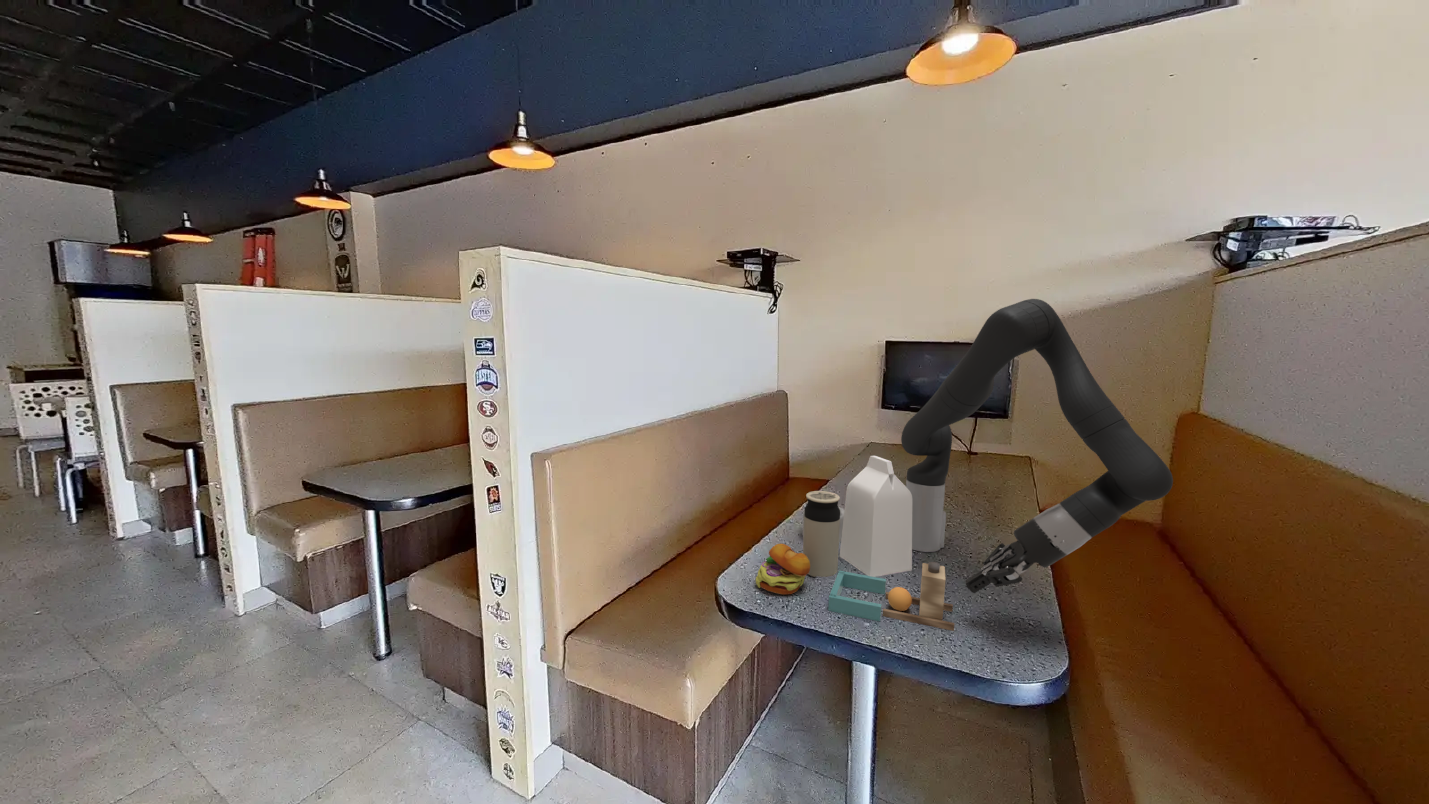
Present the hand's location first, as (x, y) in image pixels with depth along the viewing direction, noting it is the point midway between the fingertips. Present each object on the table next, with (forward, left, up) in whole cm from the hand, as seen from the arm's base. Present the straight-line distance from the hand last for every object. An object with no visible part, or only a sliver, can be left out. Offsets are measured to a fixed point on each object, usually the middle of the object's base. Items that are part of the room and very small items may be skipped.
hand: (968, 587), depth 97 cm
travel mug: (+15, -28, -8) cm, 33 cm away
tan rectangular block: (+5, -4, -7) cm, 9 cm away
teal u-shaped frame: (+15, -13, -8) cm, 21 cm away
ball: (+9, -8, -5) cm, 13 cm away
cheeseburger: (+27, -24, -8) cm, 37 cm away
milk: (+1, -27, -8) cm, 28 cm away
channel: (+6, -5, -7) cm, 11 cm away
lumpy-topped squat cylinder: (+5, -46, -8) cm, 47 cm away
